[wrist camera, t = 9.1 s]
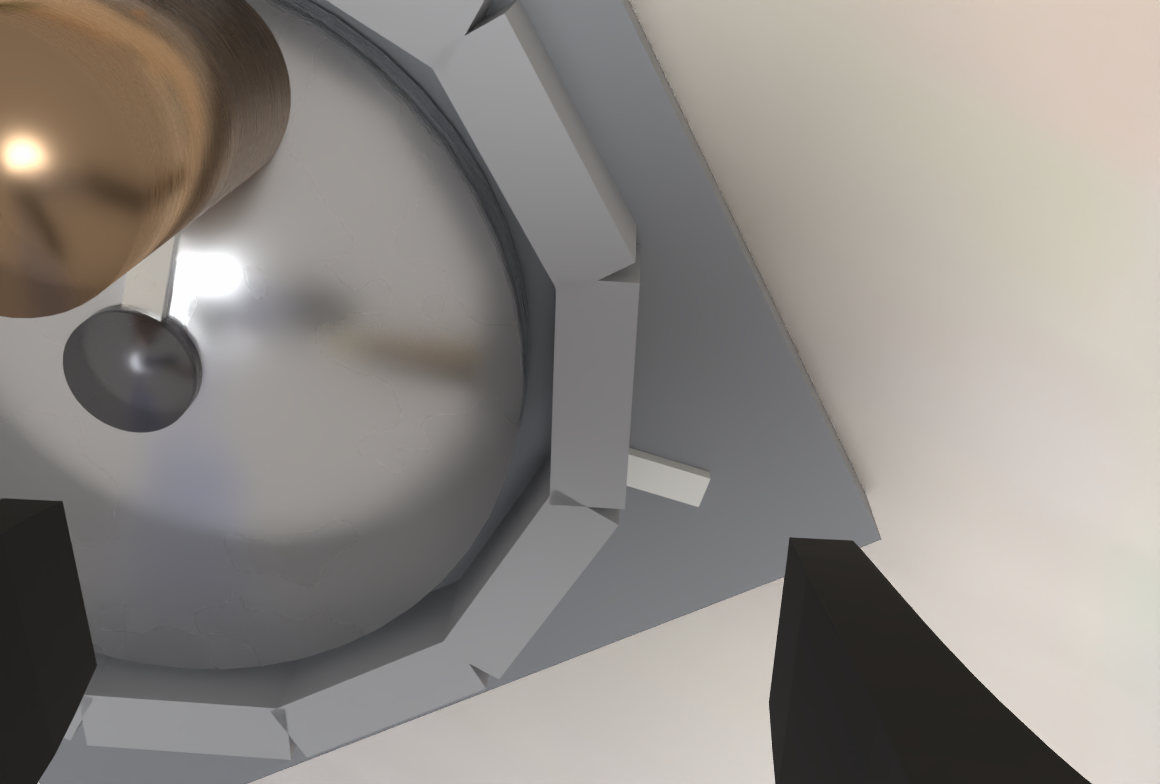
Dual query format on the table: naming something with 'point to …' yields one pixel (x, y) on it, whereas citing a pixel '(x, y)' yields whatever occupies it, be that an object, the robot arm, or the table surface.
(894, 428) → the table surface
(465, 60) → the dial plate
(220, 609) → the dial
